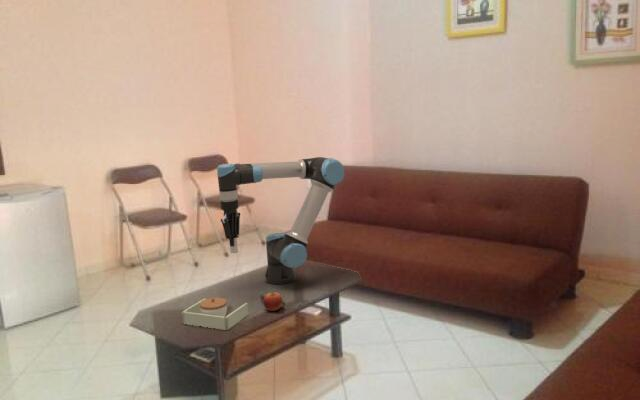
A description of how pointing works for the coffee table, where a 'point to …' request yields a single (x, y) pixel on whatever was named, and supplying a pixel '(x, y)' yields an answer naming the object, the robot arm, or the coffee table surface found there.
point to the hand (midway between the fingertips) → (234, 252)
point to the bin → (213, 317)
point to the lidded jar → (214, 306)
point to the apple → (272, 301)
